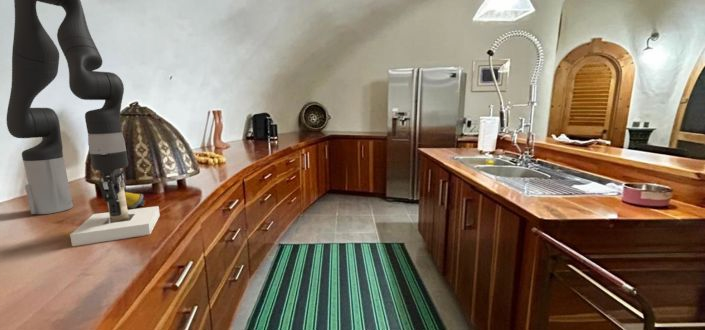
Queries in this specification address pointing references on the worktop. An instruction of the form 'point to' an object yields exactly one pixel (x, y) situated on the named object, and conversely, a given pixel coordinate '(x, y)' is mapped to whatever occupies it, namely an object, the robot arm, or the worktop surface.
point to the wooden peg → (123, 206)
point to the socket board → (115, 226)
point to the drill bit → (134, 200)
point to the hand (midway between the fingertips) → (118, 212)
